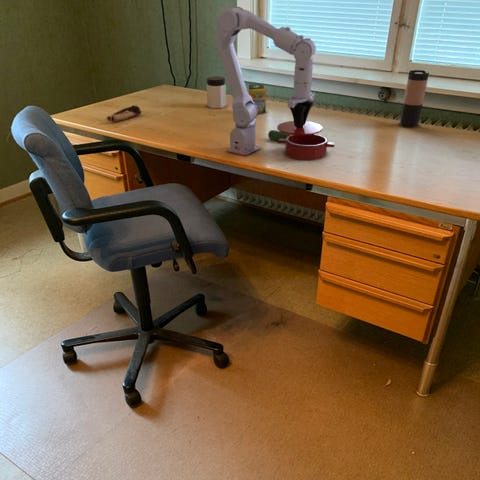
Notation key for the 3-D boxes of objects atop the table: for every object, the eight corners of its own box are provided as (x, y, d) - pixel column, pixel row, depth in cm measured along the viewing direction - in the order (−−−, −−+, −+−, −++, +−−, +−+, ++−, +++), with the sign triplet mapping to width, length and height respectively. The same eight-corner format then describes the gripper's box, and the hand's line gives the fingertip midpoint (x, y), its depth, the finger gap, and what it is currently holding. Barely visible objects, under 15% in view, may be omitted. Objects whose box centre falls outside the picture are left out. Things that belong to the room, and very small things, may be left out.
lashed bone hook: (131, 113, 221) (99, 121, 210) (130, 102, 219) (97, 109, 207) (145, 116, 216) (113, 124, 205) (144, 104, 214) (111, 112, 202)
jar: (204, 105, 231) (203, 77, 224) (220, 103, 234) (219, 75, 227) (213, 109, 225) (211, 80, 217) (228, 107, 228) (228, 79, 220)
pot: (330, 162, 168) (332, 147, 165) (274, 157, 172) (274, 143, 169) (335, 149, 179) (337, 135, 176) (282, 144, 183) (282, 131, 180)
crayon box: (250, 114, 218) (250, 85, 211) (248, 112, 220) (248, 84, 213) (265, 112, 219) (266, 84, 212) (263, 111, 222) (264, 83, 215)
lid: (318, 138, 161) (320, 123, 158) (273, 135, 164) (273, 119, 161) (324, 125, 173) (326, 111, 170) (281, 122, 176) (282, 108, 173)
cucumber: (294, 142, 186) (294, 133, 184) (289, 144, 184) (290, 135, 181) (271, 137, 191) (271, 128, 188) (266, 139, 188) (266, 130, 186)
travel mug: (397, 126, 202) (406, 72, 189) (401, 121, 207) (411, 69, 195) (416, 128, 199) (427, 74, 187) (420, 123, 204) (431, 71, 192)
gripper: (302, 87, 152) (299, 132, 161) (324, 79, 162) (320, 122, 170) (283, 85, 156) (281, 129, 164) (305, 77, 165) (302, 119, 173)
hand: (299, 125), depth 167 cm, fingers closed on lid, 2 cm apart
